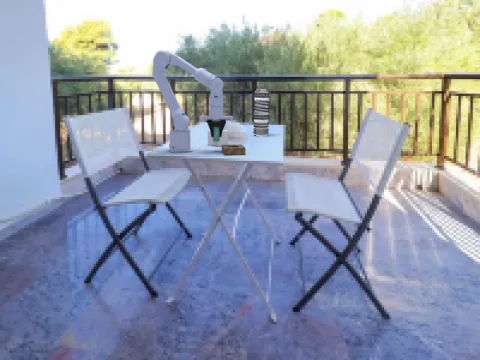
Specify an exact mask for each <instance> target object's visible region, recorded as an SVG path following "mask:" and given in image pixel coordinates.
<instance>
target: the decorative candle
mask: <svg viewBox="0 0 480 360" xmlns="http://www.w3.org/2000/svg"><path fill="white" fill-rule="evenodd" d="M269 94H270V91H269V90H268V89H266V88H257V89H256V90H255V91H254V99H253V101H252V103H254V104H253V110H254V111H253V115H254V119H253V128H252V129H253V132H252V133H253V136H254V135H256V136H255V137H268V136H267V135H269V131H270V129H269V128H270V126H269V124H270V123H269V115H270V108H269V107H270V104H271V101H270V97H269Z"/></svg>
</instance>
